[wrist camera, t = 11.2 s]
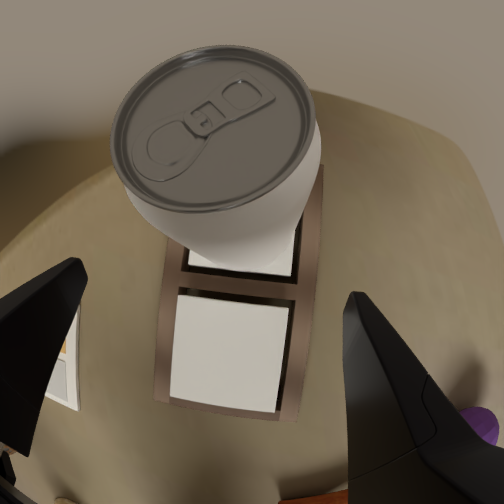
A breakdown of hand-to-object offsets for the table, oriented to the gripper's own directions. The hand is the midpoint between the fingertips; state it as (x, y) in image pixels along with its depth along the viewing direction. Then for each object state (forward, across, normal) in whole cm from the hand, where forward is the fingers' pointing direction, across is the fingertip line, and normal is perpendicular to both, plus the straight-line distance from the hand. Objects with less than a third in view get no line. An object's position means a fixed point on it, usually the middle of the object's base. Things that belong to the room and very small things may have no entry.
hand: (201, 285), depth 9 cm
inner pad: (+4, 0, +10) cm, 11 cm away
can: (+10, 0, +4) cm, 11 cm away
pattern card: (+3, +16, +14) cm, 22 cm away
